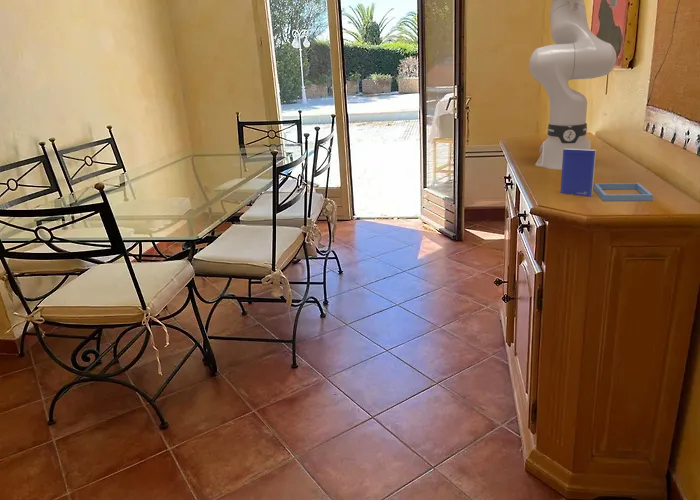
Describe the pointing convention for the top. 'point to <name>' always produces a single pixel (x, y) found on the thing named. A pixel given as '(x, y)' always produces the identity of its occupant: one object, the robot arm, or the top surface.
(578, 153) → the hard drive
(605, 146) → the top surface
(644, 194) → the frame
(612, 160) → the top surface
